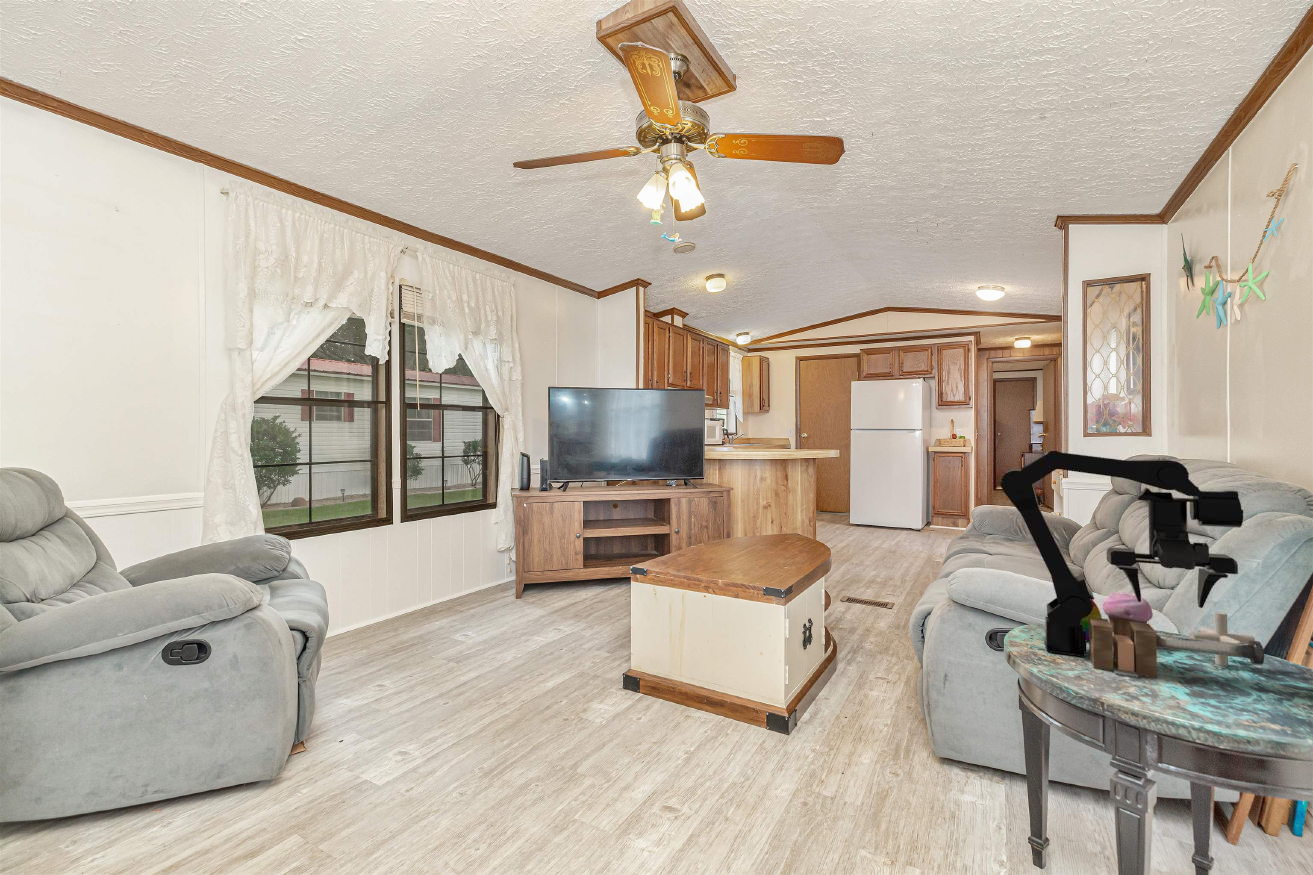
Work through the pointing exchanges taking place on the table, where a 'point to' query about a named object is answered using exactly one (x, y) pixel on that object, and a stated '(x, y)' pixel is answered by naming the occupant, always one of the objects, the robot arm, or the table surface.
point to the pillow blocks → (1139, 635)
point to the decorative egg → (1085, 621)
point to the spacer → (1123, 652)
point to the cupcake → (1126, 612)
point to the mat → (1124, 672)
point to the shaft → (1213, 647)
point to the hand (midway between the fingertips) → (1169, 604)
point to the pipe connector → (1220, 635)
